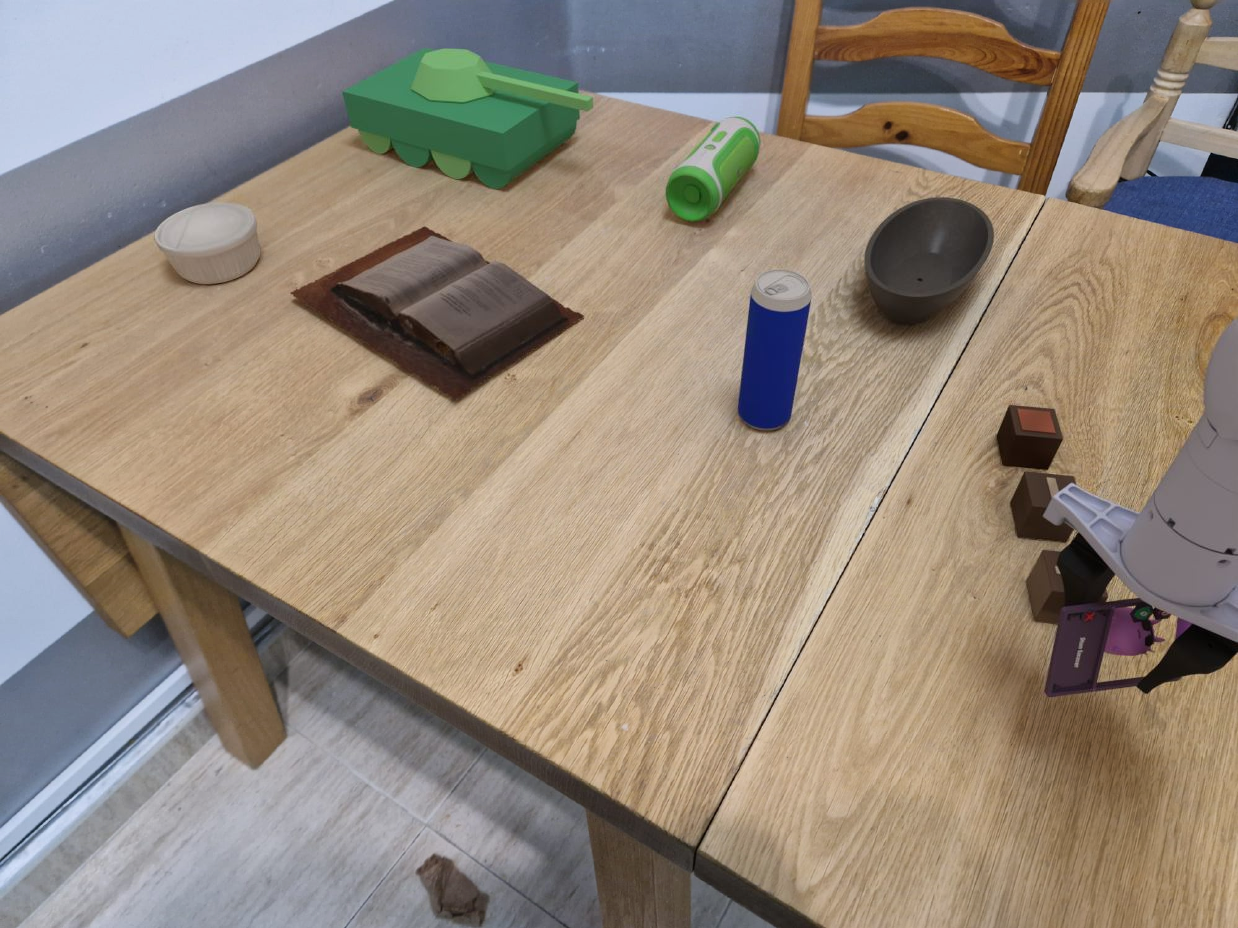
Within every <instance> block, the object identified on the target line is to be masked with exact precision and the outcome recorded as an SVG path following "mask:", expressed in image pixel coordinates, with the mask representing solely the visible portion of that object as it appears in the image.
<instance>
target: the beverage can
mask: <svg viewBox="0 0 1238 928" xmlns="http://www.w3.org/2000/svg"><path fill="white" fill-rule="evenodd" d="M752 285H753V286H752V287H751V290H750V296H749V304H748V305H749V306H748V314H747V321H746V330H745V340H744V349H743V358H742V367H741V375H740V385H739V392H738V393H739V394H738V402H737V413H738V416H739V417H740V419H741V420H742V421H743V422H744V423H745V424H746V425H747V426H749V427H751V428H752V429H755V430H758V431H774V430H777V429H779V428H781V427H783V426H784V425H786V424H787V423H788V422H789V420H790V419H791V417H792V414H793V407H794V402H795V401H794V400H795V395H796V389H797V386H798V385H797V384H798V380H799V379H798V378H799V373H800V368H801V367H800V366H801V361H802V355H803V350H804V343H805V338H806V333H807V327H808V321H809V315H810V311H811V304H812V299H813V294H812V289H811V284H810V282H809V280H808V279H807V278H806V277H805V276H804V275H802V274H800V273H799V272H796V271H793V270H789V269H779V268H778V269H771V270H770V269H769V270H766V271H763V272H762V273H760V274H759V275H758V276H757V277H756V279H755V281H754V283H753V284H752Z"/></svg>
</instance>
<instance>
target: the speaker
mask: <svg viewBox="0 0 1238 928" xmlns="http://www.w3.org/2000/svg"><path fill="white" fill-rule="evenodd" d="M760 149H761V135H760V133H759V130H758V129H757V127H756V126H755V125H754V123H752V121H750V120H749V119H747V118H745V117H742V116H729V117H727V118H724V119H722V120H720V121H718V122H716V124H714V125H713V126H712V127H711V129H710V130H709V132H708V133H707V135H706V136H705V137H704V138H703V139H702V140H701V141H700V142H699V143H698V144H697V146H695V148H694V149H693V150H691V152H690V153H689V154H688V155H687V156H686V158H685V159H684V160H682V162H680V163H679V164H678V165H677V166H676V167H675V168H674V169H673V170H672V172H671V174H670V175H669V178H668V180H667V183H666V187H665V199H666V203H667V205H668V208H670V210H671V211H672V212H673V214H674V215H676V216H677V217H678V218H679V219H681V220H683V221H687V222H692V223H693V222H694V223H695V222H700V221H703V220H706V219H707V218H709V217H710V216H712V215H713V214H715V213H716V212H717V211H718V210H719V209H720V208H721V206H722V203H723V202H724V200H726V198H727V197H728V195H729V194H730V193H731V191H733V189H734V188H735V186H736V185H737V184H738V183H739V181H740V180H741V179H742V178H743V176H745V174H746V173H747V172H748V171H749V170H750V169H751V168H752V167H754V165H755V163H756V161H757V160H758V158H759V157H758V156H759V154H760V151H761V150H760Z"/></svg>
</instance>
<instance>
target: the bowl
mask: <svg viewBox="0 0 1238 928" xmlns="http://www.w3.org/2000/svg"><path fill="white" fill-rule="evenodd" d="M994 241H995V231H994V226H993V222H992V220H991V219H990V217H989V216H988V215H987V214H986V212H984V211H983V210H982V209H981V208H980V207H978V206H977V205H975V204H973V203H971V202H969V201H966V200H963V199H959V198H954V197H946V196H938V197H928V198H927V197H926V198H922V199H918V200H916V201H912V202H910V203H908V204H905V205H904V206H902V207H900V208H897V209H896V210H895V211H894V212H892V213H891V214H889V215H888V216H887V217H886V218H885V219H884V220H883V221H881V223H880V224H879V225H878V226H877V227H876V228H875V230H874V232H872V234H871V236H870V237H869V239H868V242H867V245H866V247H865V251H864V260H863V261H864V272H865V279H866V285H867V288H868V292H869V294H870V297H871V299H872V302H873V304H874V305H875V307H876V308H877V310H878V311H879V312H880V313H881V315H882V316H883V317H884V318H885V319H886V320H887V321H889V322H891V323H892V324H896V325H900V326H915V325H918V324H922V323H923V322H927V321H928V320H930V319H932V318H934V317H935V316H936V315H938V314H940V313H941V312H943V311H944V310H945V309H947V308H948V307H949V306H950V305H951V304H952V303H954V302H955V301H956V300H957V299H958V298H959V297H960V296H961V295H962V294H963V293H964V292H965V290H966V289H967V288H968V287H969V286H970V284H971V283H972V282H973V281H974V279H975V278H976V277H977V275H978V274H979V273H980V271H981V270H982V268H983V266H984V265H985V263H986V261H987V260H988V259H989V256H990V254H991V253H992V252H991V251H992V250H993V246H994Z"/></svg>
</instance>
